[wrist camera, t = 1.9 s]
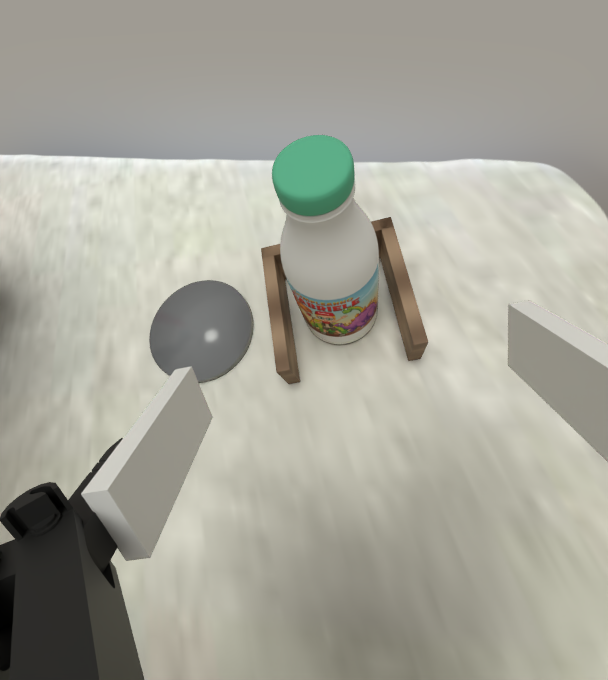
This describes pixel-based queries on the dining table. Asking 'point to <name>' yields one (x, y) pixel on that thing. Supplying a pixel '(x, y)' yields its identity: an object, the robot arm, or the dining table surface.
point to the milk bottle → (327, 239)
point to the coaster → (202, 330)
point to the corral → (398, 290)
